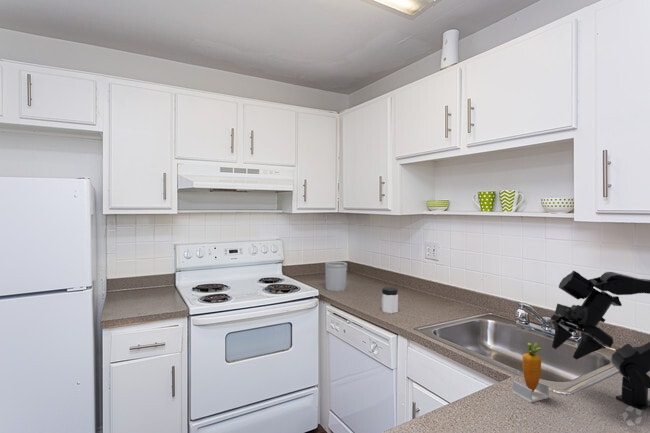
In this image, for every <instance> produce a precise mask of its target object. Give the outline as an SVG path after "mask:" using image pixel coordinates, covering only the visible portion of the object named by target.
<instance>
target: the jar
mask: <svg viewBox="0 0 650 433" xmlns="http://www.w3.org/2000/svg"><path fill="white" fill-rule="evenodd" d="M398 293H399V292H398V288H396V287H393V286H391V287H390V286H388V287H387V286H385V287H382V289H381V311H382V312H383V313H387V314H396V313H398V311H399V294H398Z"/></svg>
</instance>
